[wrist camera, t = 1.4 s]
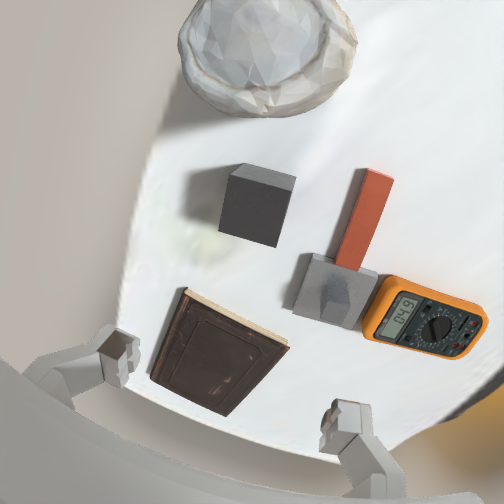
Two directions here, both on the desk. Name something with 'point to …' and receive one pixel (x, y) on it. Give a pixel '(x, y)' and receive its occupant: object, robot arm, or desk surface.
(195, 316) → the hardcover book
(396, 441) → the desk surface
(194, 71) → the spray can
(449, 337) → the multimeter
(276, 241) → the brushed metal cube
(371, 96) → the desk surface
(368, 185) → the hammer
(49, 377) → the robot arm
